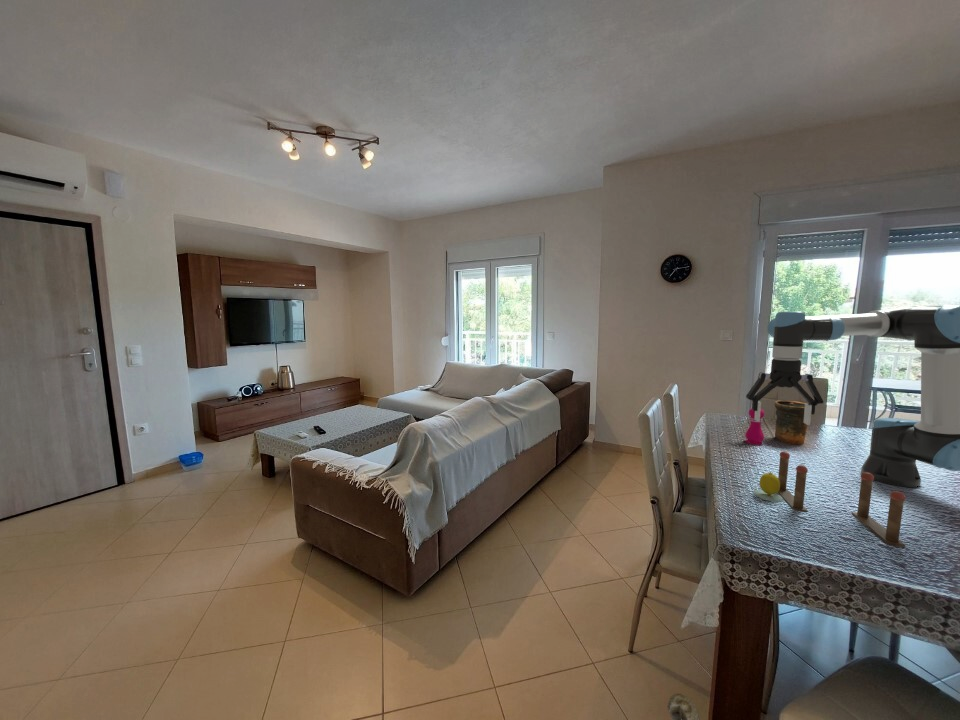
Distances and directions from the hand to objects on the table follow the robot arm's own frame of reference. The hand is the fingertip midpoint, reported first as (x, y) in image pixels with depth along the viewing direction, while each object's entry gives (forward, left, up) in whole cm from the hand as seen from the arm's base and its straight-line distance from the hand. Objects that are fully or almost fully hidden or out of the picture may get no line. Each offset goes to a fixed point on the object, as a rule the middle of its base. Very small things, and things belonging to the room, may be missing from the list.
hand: (781, 422), depth 124 cm
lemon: (+2, 0, -26) cm, 26 cm away
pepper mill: (-11, -59, -27) cm, 66 cm away
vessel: (-28, -68, -27) cm, 79 cm away
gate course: (-12, +7, -26) cm, 30 cm away
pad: (+2, +1, -26) cm, 26 cm away
